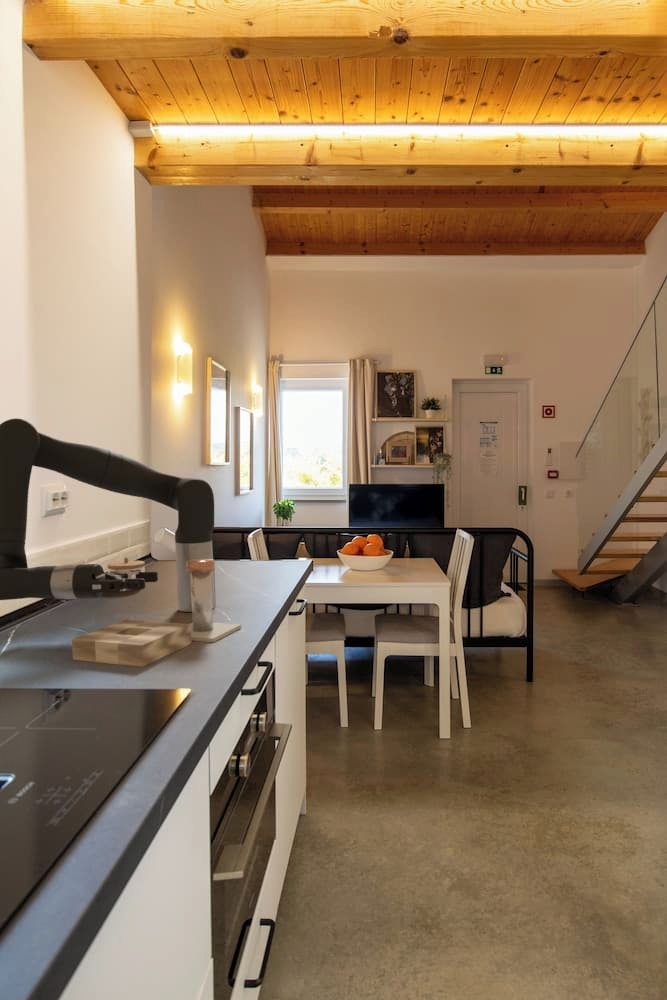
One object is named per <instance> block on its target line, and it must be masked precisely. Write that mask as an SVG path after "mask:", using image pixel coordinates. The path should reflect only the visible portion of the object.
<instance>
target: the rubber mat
mask: <svg viewBox="0 0 667 1000" xmlns="http://www.w3.org/2000/svg"><path fill="white" fill-rule="evenodd" d="M189 624H191V642H206V643H215V642H216V641H219V640H221V639H222V638H225V637H227V636H229V635H230V634H233V633H234V632H237V631H238V629H239V630H240V629H242V624H237V623H223V622H213V630H211V631H207V632H194V631H193V626H192V622H190V623H189Z"/></svg>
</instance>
